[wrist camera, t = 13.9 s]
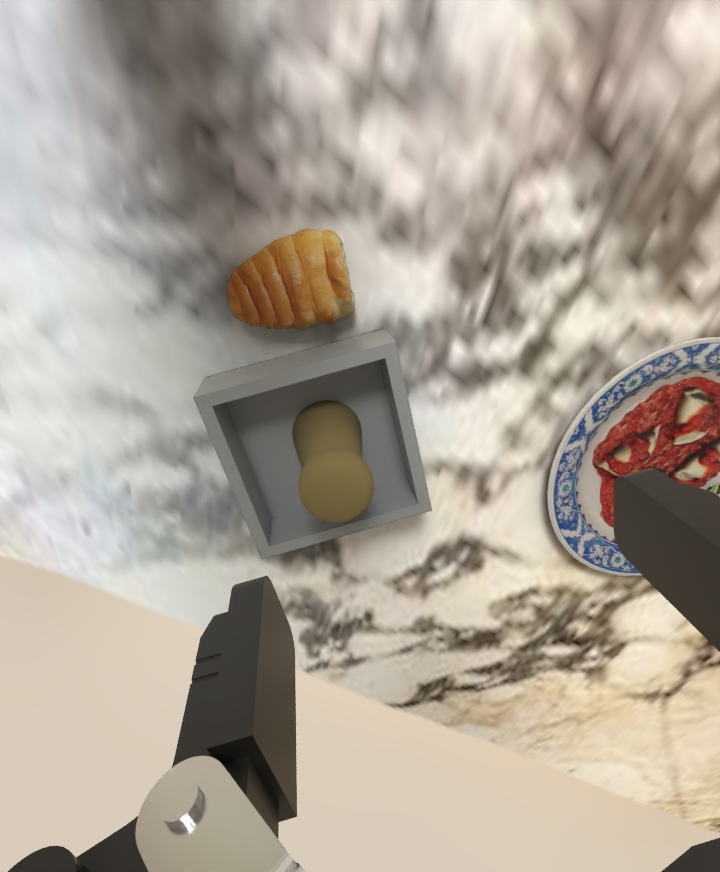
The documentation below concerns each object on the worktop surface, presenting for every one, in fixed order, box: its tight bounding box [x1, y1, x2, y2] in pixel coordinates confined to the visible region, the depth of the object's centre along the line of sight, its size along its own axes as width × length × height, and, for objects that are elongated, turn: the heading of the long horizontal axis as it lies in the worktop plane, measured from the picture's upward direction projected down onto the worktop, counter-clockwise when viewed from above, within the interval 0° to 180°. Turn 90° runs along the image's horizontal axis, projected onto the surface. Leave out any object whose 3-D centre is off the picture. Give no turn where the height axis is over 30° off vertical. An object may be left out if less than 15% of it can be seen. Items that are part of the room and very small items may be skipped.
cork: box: [292, 400, 374, 523], centre depth 36 cm, size 6×6×11 cm
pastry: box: [227, 229, 355, 330], centre depth 35 cm, size 9×7×4 cm
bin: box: [193, 328, 432, 559], centre depth 39 cm, size 15×15×5 cm
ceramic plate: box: [547, 337, 720, 576], centre depth 46 cm, size 26×26×3 cm
